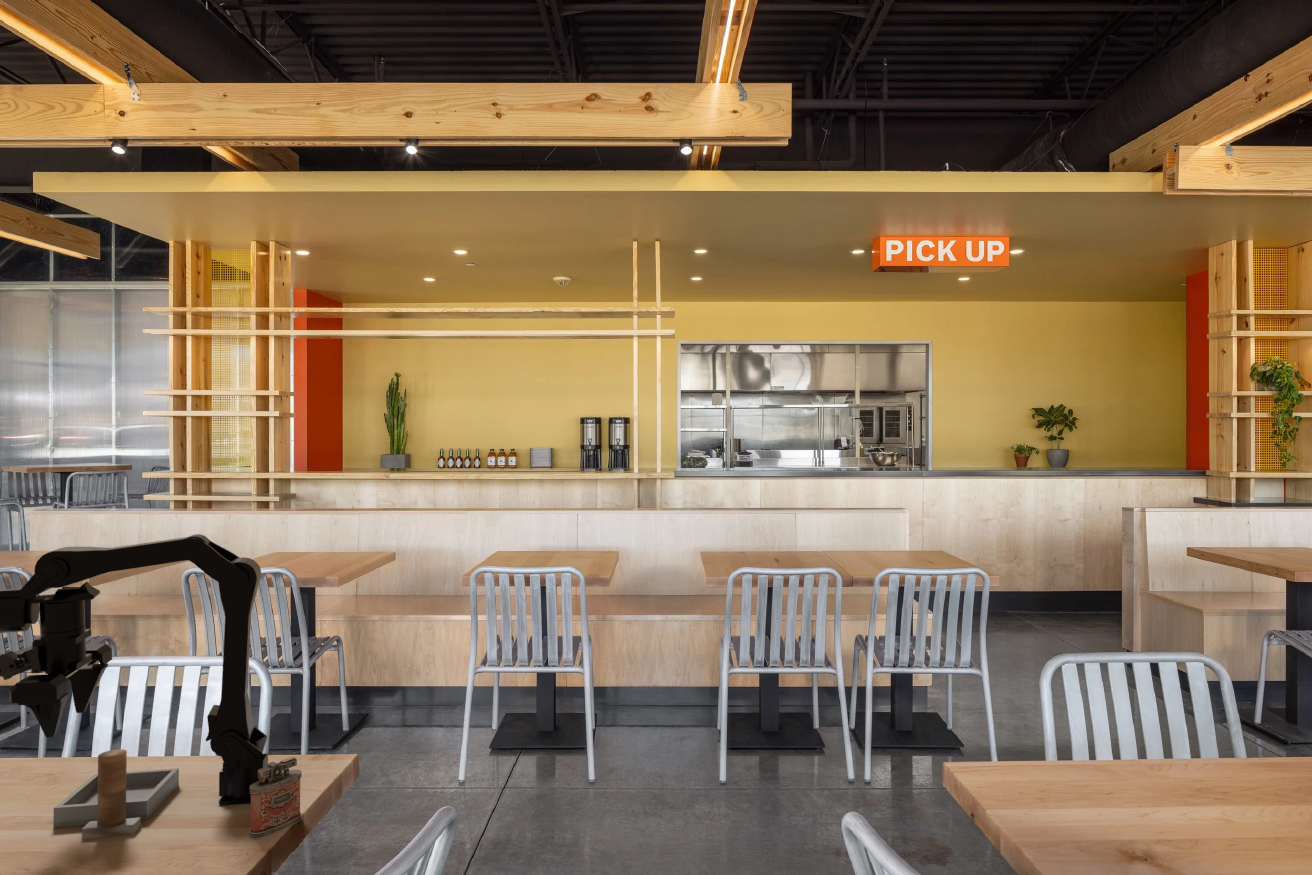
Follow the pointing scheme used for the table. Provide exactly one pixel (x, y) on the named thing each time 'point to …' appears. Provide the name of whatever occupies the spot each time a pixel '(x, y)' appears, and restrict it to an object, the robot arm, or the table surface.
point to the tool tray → (140, 797)
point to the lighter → (275, 798)
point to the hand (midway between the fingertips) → (65, 724)
